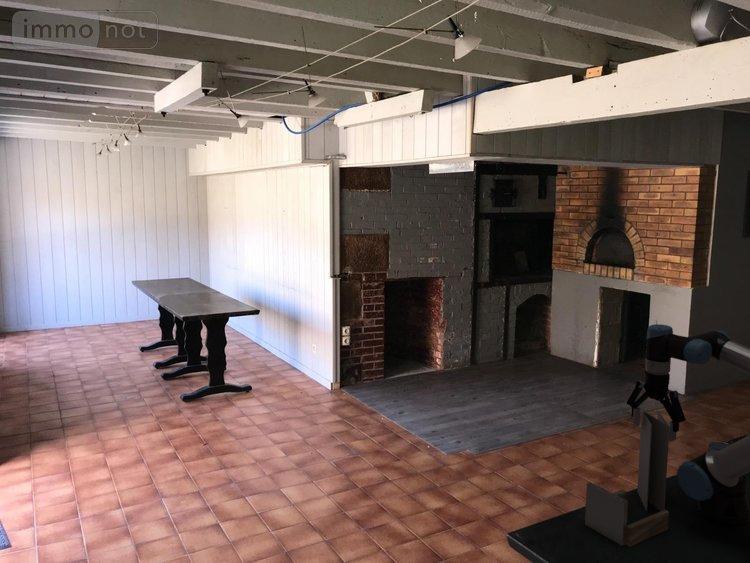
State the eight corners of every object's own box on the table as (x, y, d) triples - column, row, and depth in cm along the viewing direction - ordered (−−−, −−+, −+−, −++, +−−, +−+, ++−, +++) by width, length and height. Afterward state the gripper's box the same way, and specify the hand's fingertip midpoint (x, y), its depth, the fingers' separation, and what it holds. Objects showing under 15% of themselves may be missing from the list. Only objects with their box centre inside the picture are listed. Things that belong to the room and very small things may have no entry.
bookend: (625, 544, 186) (627, 501, 184) (622, 546, 186) (624, 502, 184) (588, 523, 198) (590, 482, 196) (585, 524, 198) (586, 483, 196)
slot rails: (667, 529, 194) (669, 511, 193) (629, 547, 185) (630, 528, 184) (621, 506, 209) (622, 489, 208) (584, 521, 200) (585, 503, 199)
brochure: (664, 514, 203) (669, 426, 199) (646, 512, 204) (651, 425, 200) (654, 493, 217) (658, 410, 212) (637, 491, 218) (641, 410, 213)
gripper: (617, 364, 212) (614, 423, 216) (685, 383, 191) (681, 449, 194) (632, 361, 216) (629, 419, 220) (700, 379, 195) (695, 443, 198)
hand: (653, 433), depth 207 cm, fingers open, 13 cm apart
